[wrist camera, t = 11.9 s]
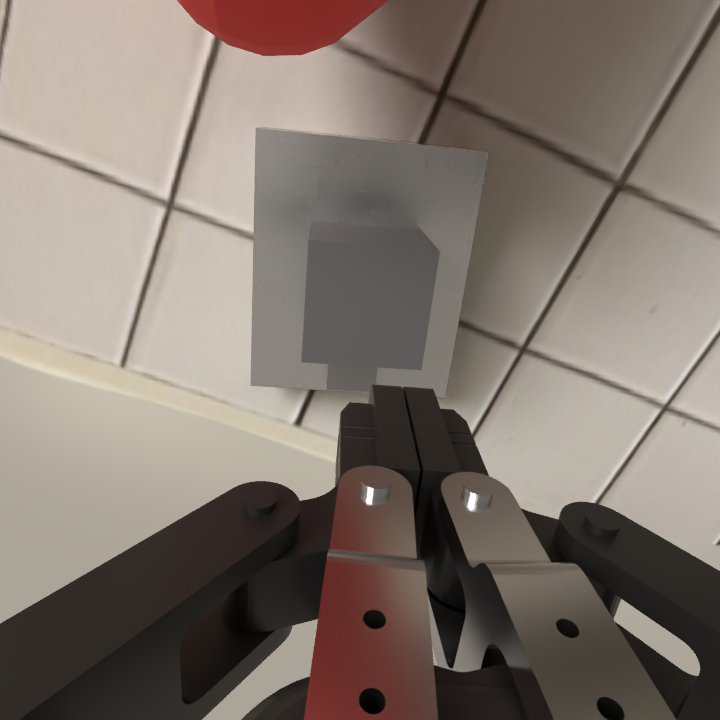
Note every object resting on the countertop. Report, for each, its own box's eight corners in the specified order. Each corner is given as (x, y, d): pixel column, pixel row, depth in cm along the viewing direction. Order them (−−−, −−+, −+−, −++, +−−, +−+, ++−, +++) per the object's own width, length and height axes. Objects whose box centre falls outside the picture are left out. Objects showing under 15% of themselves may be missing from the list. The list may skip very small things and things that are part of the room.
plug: (412, 219, 27) (440, 251, 21) (399, 313, 29) (421, 370, 23) (313, 210, 27) (308, 240, 20) (307, 306, 29) (301, 362, 22)
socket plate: (471, 149, 26) (493, 153, 23) (434, 372, 31) (447, 404, 28) (264, 127, 25) (253, 128, 22) (258, 360, 30) (248, 392, 27)
